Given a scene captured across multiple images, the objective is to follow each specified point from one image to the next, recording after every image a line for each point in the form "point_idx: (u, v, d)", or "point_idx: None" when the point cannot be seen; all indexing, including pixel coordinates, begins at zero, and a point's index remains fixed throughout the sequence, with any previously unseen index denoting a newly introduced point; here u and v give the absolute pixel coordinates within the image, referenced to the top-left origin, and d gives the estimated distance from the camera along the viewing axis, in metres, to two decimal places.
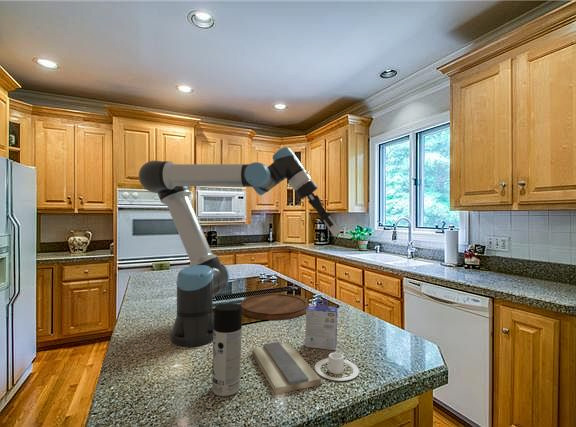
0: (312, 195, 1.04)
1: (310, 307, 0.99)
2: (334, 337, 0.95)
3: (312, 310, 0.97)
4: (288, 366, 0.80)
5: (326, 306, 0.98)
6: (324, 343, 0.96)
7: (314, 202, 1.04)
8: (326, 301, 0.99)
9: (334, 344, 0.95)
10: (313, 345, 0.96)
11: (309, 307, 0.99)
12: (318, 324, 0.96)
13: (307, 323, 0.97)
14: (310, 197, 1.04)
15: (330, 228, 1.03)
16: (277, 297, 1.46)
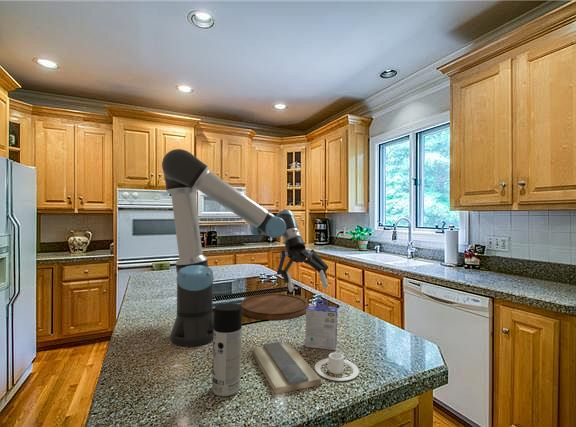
0: (281, 252, 1.15)
1: (310, 307, 0.99)
2: (334, 337, 0.95)
3: (312, 310, 0.97)
4: (288, 366, 0.80)
5: (326, 306, 0.98)
6: (324, 343, 0.96)
7: None
8: (326, 301, 0.99)
9: (334, 344, 0.95)
10: (313, 345, 0.96)
11: (309, 307, 0.99)
12: (318, 324, 0.96)
13: (307, 323, 0.97)
14: (280, 254, 1.15)
15: (287, 284, 1.07)
16: (277, 297, 1.46)
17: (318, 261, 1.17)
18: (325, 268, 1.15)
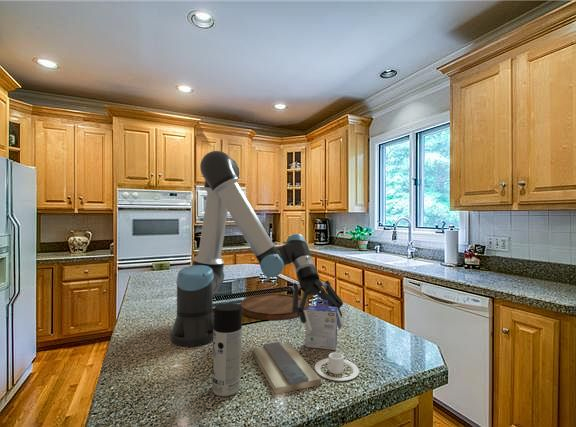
0: (293, 286, 1.03)
1: (310, 307, 0.99)
2: (334, 337, 0.95)
3: (312, 310, 0.97)
4: (288, 366, 0.80)
5: (326, 306, 0.98)
6: (324, 343, 0.96)
7: (293, 293, 1.02)
8: (326, 301, 0.99)
9: (334, 344, 0.95)
10: (313, 345, 0.96)
11: (309, 307, 0.99)
12: (318, 324, 0.96)
13: None
14: (292, 288, 1.04)
15: (305, 324, 0.96)
16: (277, 297, 1.46)
17: (332, 295, 1.05)
18: None
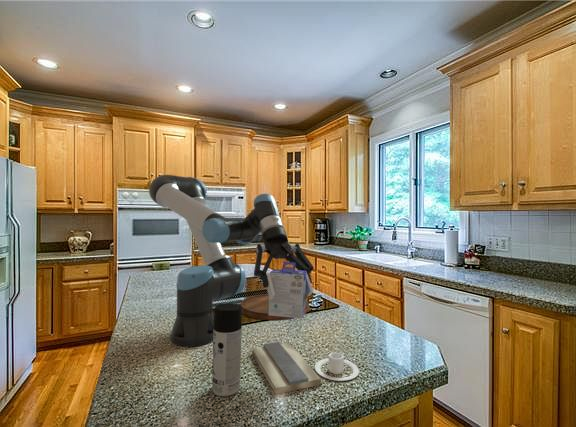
0: (257, 247, 0.90)
1: (275, 270, 0.85)
2: (301, 303, 0.82)
3: (276, 273, 0.83)
4: (288, 366, 0.80)
5: (293, 269, 0.85)
6: (289, 310, 0.82)
7: (257, 255, 0.88)
8: (294, 263, 0.86)
9: (301, 311, 0.82)
10: (277, 313, 0.83)
11: (274, 270, 0.85)
12: (284, 288, 0.83)
13: None
14: (256, 249, 0.90)
15: (267, 288, 0.82)
16: None
17: (302, 259, 0.92)
18: None
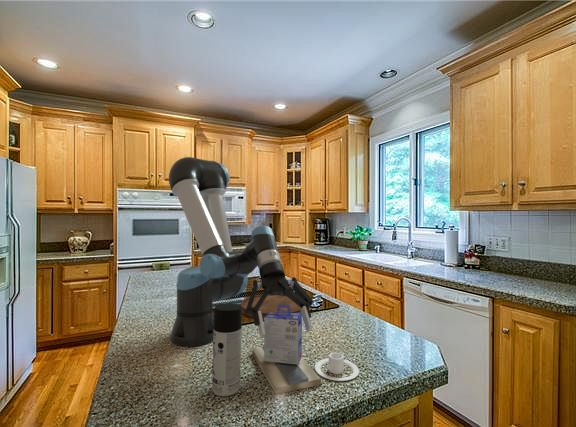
0: (252, 283, 0.89)
1: (270, 314, 0.84)
2: (297, 349, 0.81)
3: (271, 318, 0.82)
4: (288, 366, 0.80)
5: (288, 313, 0.84)
6: (285, 356, 0.81)
7: None
8: (288, 307, 0.85)
9: (297, 358, 0.81)
10: (273, 359, 0.82)
11: (269, 314, 0.85)
12: (278, 334, 0.82)
13: (265, 333, 0.82)
14: (252, 285, 0.90)
15: (258, 327, 0.82)
16: (277, 297, 1.46)
17: (300, 293, 0.91)
18: (309, 303, 0.89)
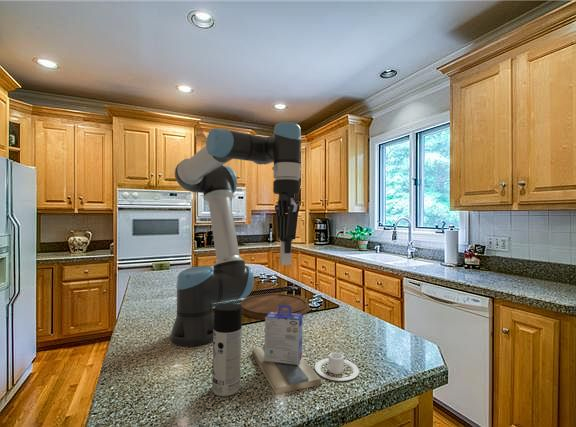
0: None
1: (271, 314, 0.85)
2: (297, 350, 0.81)
3: (272, 318, 0.82)
4: (288, 366, 0.80)
5: (289, 313, 0.84)
6: (285, 357, 0.81)
7: None
8: (290, 307, 0.85)
9: (297, 358, 0.81)
10: (273, 359, 0.82)
11: (270, 314, 0.85)
12: (279, 334, 0.82)
13: (266, 333, 0.83)
14: None
15: None
16: (277, 297, 1.46)
17: None
18: None
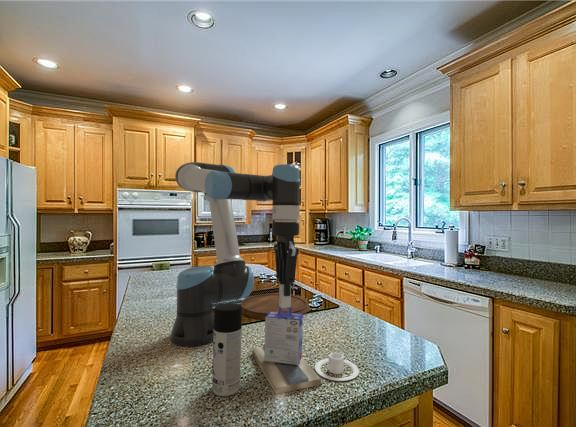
0: None
1: (271, 314, 0.85)
2: (297, 350, 0.81)
3: (272, 318, 0.82)
4: (288, 366, 0.80)
5: (289, 313, 0.84)
6: (285, 356, 0.81)
7: None
8: (290, 307, 0.85)
9: (297, 358, 0.81)
10: (273, 359, 0.82)
11: (270, 314, 0.85)
12: (279, 334, 0.82)
13: (266, 333, 0.83)
14: None
15: None
16: (277, 297, 1.46)
17: None
18: None
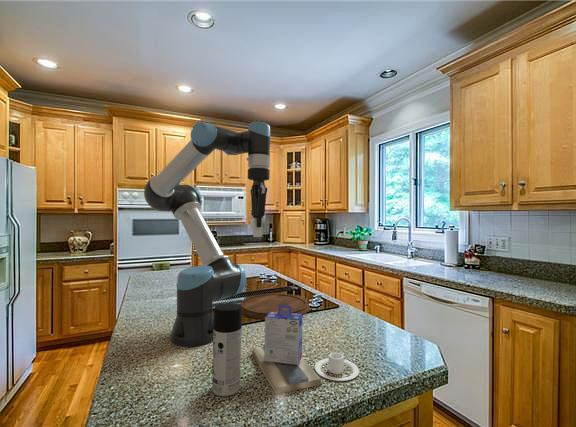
0: None
1: (271, 314, 0.85)
2: (297, 350, 0.81)
3: (272, 318, 0.82)
4: (288, 366, 0.80)
5: (289, 313, 0.84)
6: (285, 357, 0.81)
7: None
8: (290, 307, 0.85)
9: (297, 358, 0.81)
10: (273, 359, 0.82)
11: (270, 314, 0.85)
12: (279, 334, 0.82)
13: (266, 333, 0.83)
14: None
15: None
16: (277, 297, 1.46)
17: None
18: None
